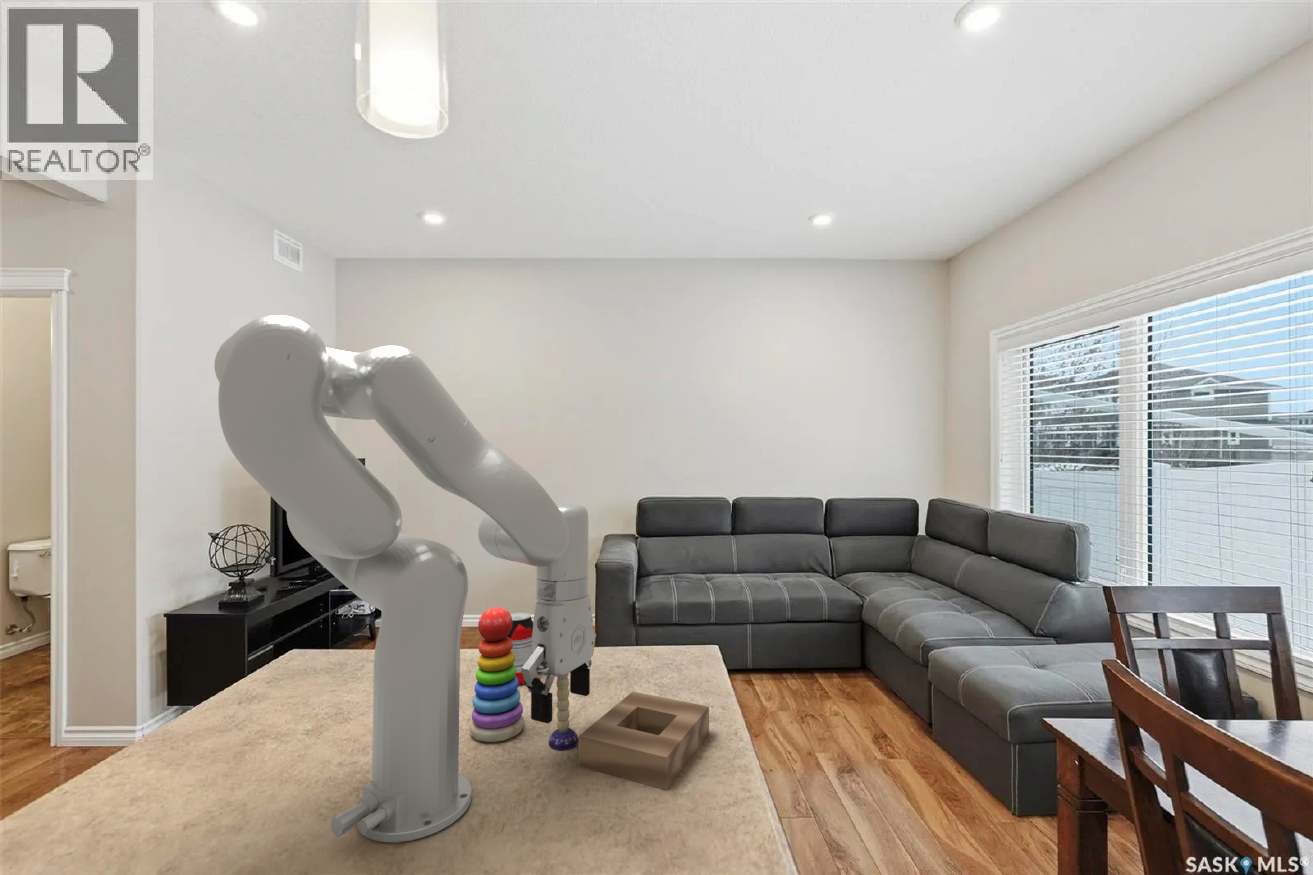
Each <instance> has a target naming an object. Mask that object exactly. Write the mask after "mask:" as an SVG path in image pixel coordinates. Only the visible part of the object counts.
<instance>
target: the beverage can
mask: <svg viewBox="0 0 1313 875" xmlns="http://www.w3.org/2000/svg"><path fill="white" fill-rule="evenodd" d="M509 613H510V615H511V617H512V621H513V625H512V629H511V631H510V633H509V634H508V636H507V637H509V638H510V639H511V640H512V641H513V648H512V650H511V651H512V652H513V653H514V655H515V662H514V663H513V664H514V665H515V667H516V675H515V676H516V677H517V679H518V682H519V684H521V685H524V684H525V680H524V678H523V675H522V672H521V669H522V667H523V666H524V664H525V663H526V662H527V660H528V659H529V658H530V656H531V646H532V630H533V621H534V620H533V619H532V615H531V613H529V612H524V611H516V612H509ZM523 683H524V684H523Z"/></svg>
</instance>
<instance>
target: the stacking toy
mask: <svg viewBox="0 0 1313 875" xmlns="http://www.w3.org/2000/svg"><path fill="white" fill-rule="evenodd" d="M510 613H511V612H509V611H508V610H507V609H505V608H503V607H499V606H498V607H497V606H495V607H491V608H488V609H487V610H485V611H484V612H483V613H482V614H481V616H480V618H479V620H478V625H477V626H478V631H479V632H478V633H479V634H480V636H481V637H482V638H483V640H481V641H480V643H479V645H478V651H479V654H481V655H479V657H478V659H477V666H478V668H477V669H476V671H475V680H476V682H475V685H474V692H475V694H474V696H473V698H472V706H473V710H472V712H471V722H470V725H469V732H470V734H471V736H472V737H473V738H474V739H475V740H477V741H481V742H484V743H485V742H486V743H487V742H488V743H497V742H502V741H505V740H509V739H511V738H513V737H515V736H517V735H518V734H519V733H520V732H521V731H522V730H523V728H524V726H525V718H524V716H523V712H524V707H523V704H522V702H521V701H520V700H521V693H520V690H519V689H518V688H519V686H520V685H519V682H518V679H517V677H516V676H515V675H516V667H515V665H514V664H513V663H514V662H515V655H514V653H513V652H512V651H511V650H512V648H513V641H512V640H511V639H510V638H509V637H507V636H508V634H509V633H510V631H511V629H512V625H513V621H512V617H511V615H510Z"/></svg>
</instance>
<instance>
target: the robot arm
mask: <svg viewBox="0 0 1313 875" xmlns="http://www.w3.org/2000/svg"><path fill="white" fill-rule="evenodd" d="M214 372H215V376H216V380H218V383H219V386H218V397H217V398H218V399H217V400H218V404H217V405H218V416H219V421H220V426H221V429H222V433H223V436H224V438H225V442H226V444H227V445H228V447H229V450H230V451H231V452H232V454H233V455H234V457H235V459H236V460H237V461H238V463H239V464H240V466H241V467H242V468H243V469H244V470H245V471H246V472H247V473H248V474H249V475H250V477H252V478H253V480H255V482H256V483H258V484H259V486H260V487H261V488H263V490H265V491H266V493H268V495H269V496H270V497H271V498H272V499H273V500H274V501H275V502H276V503H277V504H278V505H279V506H280V507H281V508H282V509H283V510H285V512H286V521H287V525H288V528H289V531H290V532H291V534H292V536H293V538H294V539H295V540H296V541H297V543H298V544H299V545H300V546H301V547H302V548H303V549H304V550H305V551H306V552H308V553H309V554H310V556H312V557H313V558H314V559H315V560H316V561H317V562H318V563H319V564H321V565H322V566H323V567H324V568H325V570H327V571H328V572H330V573H331V574H332V575H333V576H334V577H335V578H336V580H338V581H339V582H340V583H342V584H343V585H344V586H345V587H346V588H348V589H349V590H350V591H351V592H352V593H353V594H354V595H356V597H358V598H359V599H360V600H362V601H363V602H365V604H368V605H369V606H371V607H374V608H376V609H377V610H379V611H381V619H380V625H379V630H378V633H377V637H376V643H375V649H374V657H373V676H372V677H373V678H372V680H373V689H372V690H373V693H372V694H373V695H372V696H373V697H372V700H373V702H372V742H371V743H372V744H371V745H372V746H371V747H372V748H371V749H372V750H371V752H372V755H371V781H368V782H367V783H365V784H364V785H363V786H362V791H363V792H362V797H359V798H358V800H357V802H356V804H355V805H353V806H351V807H349V808H348V809H345V810H344V811H343V812H341V813H339V814H337V815H335V817H333V818H332V819H331V821H330V829H331V831H332V833H333V835H334V836H335V837H340V836H342V835H344V834H346V833H347V832H348V831H350V830H351V829H353V828H354V827H356V829H357V830H358V832H359V834H361V835H362V836H363V837H365V838H367V839H369V840H372V841H376V842H381V843H401V842H402V843H403V842H409V841H415V840H419V839H422V838H425V837H428V836H432V835H433V834H436V833H438V832H440V831H442V830H444V829H445V828H447V827H449V826H450V825H451V826H452V824H453V823H454V822H456V821H457V820H459V819H460V818H461V816H462V815H463V814H465V812H467V810H468V808H469V806H470V805H471V801H472V792H473V790H472V783H470V781H469V779H468V778H467V777H465V776H464V775H462V774H461V773H459V757H460V756H459V755H460V754H459V753H460V750H459V749H460V747H459V746H460V744H459V743H460V741H459V740H460V684H461V683H460V682H461V681H460V677H461V676H460V675H461V674H460V671H461V668H460V667H461V666H460V665H461V664H460V663H461V638H462V637H461V636H462V628H463V627H462V626H463V621H464V620H463V619H464V614H465V610H466V604H467V599H468V592H469V591H468V590H469V577H468V571H467V569H466V565H465V564H464V562H463V560H462V559H461V557H460V556H459V555H458V553H456V552H455V551H454V550H453V549H452V548H450V547H448V546H447V545H445V544H443V543H440V542H438V541H435V540H429V539H425V538H421V537H414V536H411V535H409V534H408V533H407V532H406V531H405V530H404V529H403V528H402V525H403V524H402V523H403V515H402V510H401V506H400V504H399V502H398V501H397V499H396V498H395V496H394V494H393V493H391V491H390V490H389V489H388V488H387V487H386V486H385V485H384V484H383V483H382V482H381V481H380V480H379V479H378V478H377V477H376V476H374V474H372V472H371V471H370V470H369V469H368V468H367V467H366V466H365V465H364V464H363V463H362V462H361V461H360V460H359V458H357V456H355V455H354V453H353V452H351V450H350V449H349V448H348V447H347V446H346V445H345V444H344V442H343V441H342V440H341V439H340V437H339V436H338V435H337V433H335V431H334V430H333V429H332V428H331V426H330V425H329V423H328V421H327V419H326V417H332V418H341V419H349V420H350V419H352V420H361V421H362V420H363V421H365V420H366V421H368V420H369V421H370V420H371V421H372V420H374V421H375V422H376V423H377V424H378V426H380V427H381V428H382V429H383V431H384V432H385V433H386V435H388V437H389V438H390V439H391V440H392V441H393V442H394V443H395V444H396V445H397V447H398V448H400V450H401V451H402V452H403V454H404V455H405V456H406V457H407V458H408V459H409V460H410V461H411V462H412V464H413V465H414V466H415V467H416V468H417V469H418V470H419V472H420V473H421V474H422V475H423V476H424V477H425V478H426V479H427V480H428V481H430V482H431V483H433V484H435V485H436V486H438V487H439V488H440V489H442V490H444V491H447V492H449V493H451V494H453V495H454V496H458V497H459V498H461V499H464V500H466V501H468V502H469V503H471V504H472V505H473V506H475V507H476V508H479V509H480V510H481V511H483V513H485V515H484V516H483V518H482V519H481V520H480V523H479V526H478V529H477V530H478V531H477V535H478V541H479V543H480V545H481V546H482V549H483V550H484V551H486V552H487V553H488V554H490V555H492V556H493V557H496V558H497V559H498V558H499V559H502V560H506V561H511V562H516V563H520V564H525V565H529V566H533V567H536V596H535V597H536V604H535V609H534V615H533V620H532V621H533V630H532V646H531V656H530V658H529V659H528V660H527V662H526V663H525V664H524V666H523V667H522V669H521V672H522V675H523V678H524V680H525V683H524V685H525V687H527V690H528V692H529V693H530V718H531V720H532V721H536V722H538V723H539V722H540V723H544V724H550V723H552V721H553V692H550V691H551V688H552V685H553V683H554V681H555V677H556V678H557V677H562V676H564V675H566V674H568V673H569V674H570V675H569V674H568V675H569V685H570V686H569V693H571V694H572V695H573V694H574V695H579V696H583V697H588V696H589V695H590V692H591V690H590V687H591V686H590V684H591V681H590V680H591V678H590V676H591V673H590V672H591V667H592V663H593V662H592V657H593V656H594V654H595V653H594V652H595V648H594V647H595V641H596V637H597V633H596V632H595V631H594V620H593V618H594V617H593V609H592V608H593V607H592V602H591V597H590V594H589V512H588V509H587V508H586V507H585V506H583V505H581V504H577V503H555V501H554V500H553V499H552V497H551V496H550V494H549V493H548V492H547V491H546V489H545V488H544V487H543V486H542V485H541V483H539V481H538V480H537V479H536V478H534V476H533V475H531V474H530V472H528V471H527V470H526V469H525V468H524V467H522V466H521V465H520V464H518V463H517V461H515V460H513V459H512V458H510V456H509V455H507V454H506V453H504V452H503V451H502V449H500V448H499V447H497V446H495V444H493V443H491V442H490V441H489V440H488V439H486V438H485V437H484V436H483V435H482V434H481V432H479V430H478V429H477V428H476V427H475V425H474V424H473V423H472V421H471V420H470V419H469V418H468V417H467V415H466V414H465V413H464V412H463V410H462V409H461V408H460V406H459V405H458V403H457V402H456V401H455V400H454V398H453V397H452V396H451V395H450V393H449V392H448V390H447V389H446V388H445V387H444V386H443V384H442V383H441V382H440V381H439V379H438V378H437V376H436V375H435V374H434V373H433V372H432V370H431V369H430V368H429V367H428V366H427V364H426V363H425V362H424V360H422V358H421V357H420V356H418V354H416V353H415V352H413V351H412V350H411V349H409V348H406V347H403V346H400V345H382V346H376V347H374V348H370V349H367V350H365V351H362V352H353V351H348V350H347V351H346V350H342V349H335V348H330V347H327V346H326V344H325V342H324V340H323V339H322V337H321V336H320V335H319V333H318V332H317V331H316V330H315V329H314V328H313V327H312V326H310V325H309V324H308V323H306V322H305V321H303V320H302V319H298V318H296V317H294V316H291V315H284V314H271V315H270V314H269V315H266V316H261V317H258V318H256V319H253V320H251V321H250V322H247V323H246V324H244V325H242V326H241V327H240V328H239V329H238V330H236V332H234V333H233V335H231V336H230V337H228V338H227V339H226V340H225V341H224V342H223V343H222V344H221V346H220V347H219V349H218V350H217V352H216V355H215V358H214ZM542 676H545V680H544V682H543V681H542V680H541V678H542Z"/></svg>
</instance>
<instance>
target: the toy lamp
mask: <svg viewBox="0 0 1313 875" xmlns="http://www.w3.org/2000/svg"><path fill="white" fill-rule="evenodd" d="M569 674H570V672H569V673H568V674H566V675H564V676H562V677H556V687H557V690H556V698H557V700H556V709H557V712H556V717H557V723H556V724H557V725H556V728H557V729H555V730H554V731H553V732H552V733H551V734H550V736H549V740H548V746H549V747H550V748H551V749H553V750H557V751H566V750H567V751H568V750H571V749H572V748H574V747H576V746H577V745H578V744H579V736H578V735H577V732H576V731H575V730H574V729H572V728H570V720H569V717H570V710H569V707H570V700H569V697H570V696H569V695H570V688H569V685H570V679H569Z"/></svg>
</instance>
